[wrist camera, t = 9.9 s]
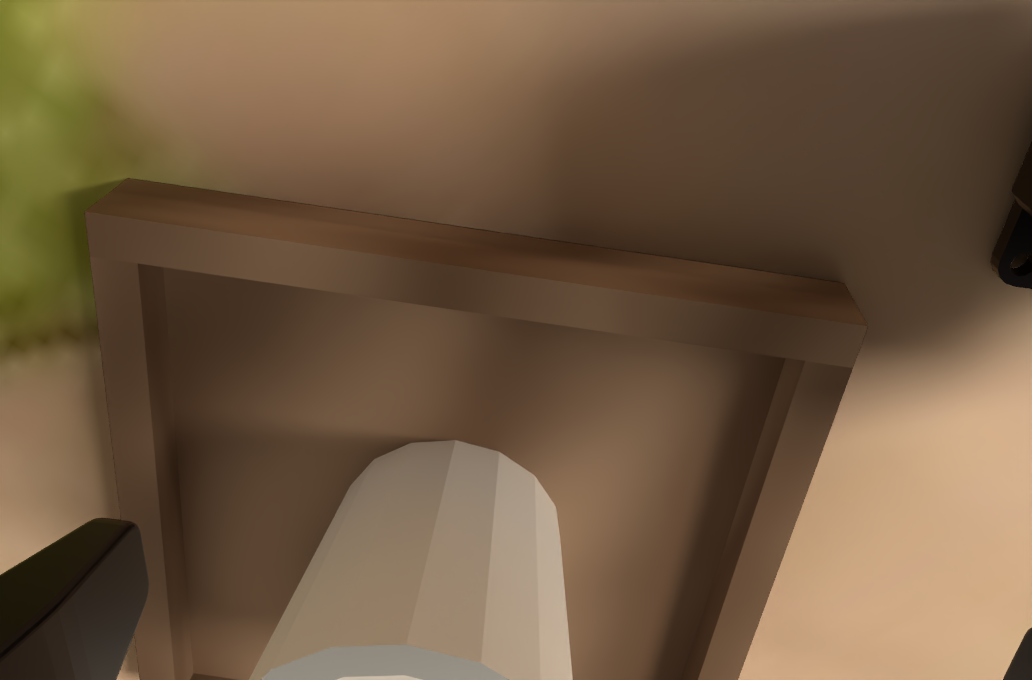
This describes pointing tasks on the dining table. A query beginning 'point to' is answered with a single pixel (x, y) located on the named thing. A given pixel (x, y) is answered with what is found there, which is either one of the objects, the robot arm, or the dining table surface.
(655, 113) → the dining table surface
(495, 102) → the dining table surface
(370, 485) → the shot glass
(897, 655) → the dining table surface
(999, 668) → the dining table surface
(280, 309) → the walnut tray
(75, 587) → the robot arm
